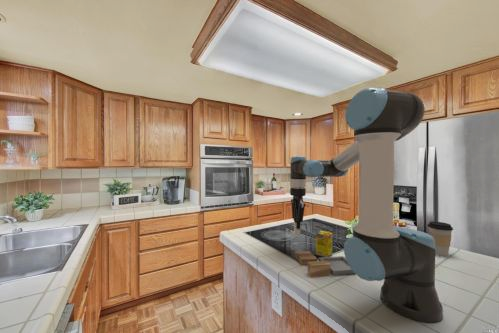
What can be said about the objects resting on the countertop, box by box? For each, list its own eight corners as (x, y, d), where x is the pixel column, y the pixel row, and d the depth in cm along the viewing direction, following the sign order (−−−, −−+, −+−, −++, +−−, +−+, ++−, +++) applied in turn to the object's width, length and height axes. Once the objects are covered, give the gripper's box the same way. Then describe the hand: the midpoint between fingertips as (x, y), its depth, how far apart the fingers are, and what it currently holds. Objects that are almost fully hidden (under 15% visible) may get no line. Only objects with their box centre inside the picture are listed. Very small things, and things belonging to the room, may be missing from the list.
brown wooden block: (317, 265, 91) (317, 258, 91) (301, 266, 90) (301, 259, 90) (309, 257, 98) (309, 251, 98) (295, 258, 98) (295, 251, 98)
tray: (361, 273, 83) (361, 268, 83) (333, 276, 81) (333, 271, 81) (343, 260, 95) (343, 256, 95) (318, 262, 93) (318, 257, 93)
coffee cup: (458, 258, 98) (458, 226, 98) (435, 257, 99) (435, 225, 99) (444, 251, 107) (444, 221, 107) (422, 249, 109) (423, 220, 109)
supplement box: (328, 259, 96) (328, 235, 96) (315, 256, 99) (315, 233, 99) (332, 255, 100) (332, 232, 100) (319, 252, 104) (320, 230, 104)
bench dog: (330, 275, 81) (330, 264, 81) (311, 277, 80) (311, 265, 80) (326, 271, 84) (326, 260, 84) (307, 273, 83) (307, 262, 83)
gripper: (310, 189, 98) (310, 238, 99) (299, 186, 111) (299, 230, 111) (295, 189, 97) (294, 239, 97) (286, 186, 110) (285, 230, 110)
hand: (297, 234), depth 104 cm, fingers closed
